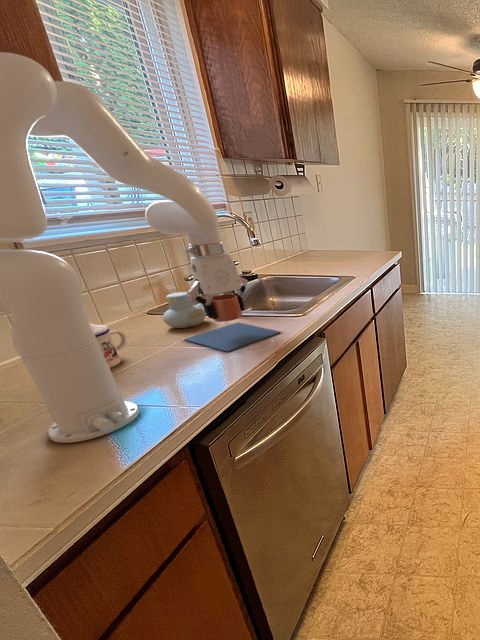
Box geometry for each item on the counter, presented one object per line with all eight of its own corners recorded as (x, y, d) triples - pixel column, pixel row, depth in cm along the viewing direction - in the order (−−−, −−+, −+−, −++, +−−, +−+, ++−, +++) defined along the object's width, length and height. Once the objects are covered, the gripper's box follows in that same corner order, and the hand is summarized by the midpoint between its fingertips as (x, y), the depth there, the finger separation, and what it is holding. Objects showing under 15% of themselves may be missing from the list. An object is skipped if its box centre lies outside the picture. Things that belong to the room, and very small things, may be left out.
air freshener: (185, 331, 120) (174, 299, 116) (161, 330, 121) (149, 298, 117) (212, 320, 130) (203, 290, 125) (190, 319, 131) (180, 289, 127)
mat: (280, 333, 118) (280, 331, 118) (227, 352, 105) (227, 351, 105) (237, 323, 126) (237, 322, 126) (184, 340, 113) (184, 339, 113)
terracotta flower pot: (247, 315, 115) (242, 295, 112) (223, 323, 109) (217, 302, 106) (232, 312, 118) (226, 292, 115) (207, 319, 112) (201, 299, 109)
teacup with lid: (88, 376, 93) (65, 329, 88) (65, 371, 96) (42, 325, 91) (143, 357, 103) (126, 313, 98) (121, 352, 106) (103, 310, 101)
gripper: (181, 256, 97) (203, 325, 104) (247, 246, 111) (263, 307, 118) (164, 254, 100) (187, 321, 107) (231, 244, 114) (247, 304, 121)
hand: (226, 313), depth 113 cm, fingers closed on terracotta flower pot, 7 cm apart
